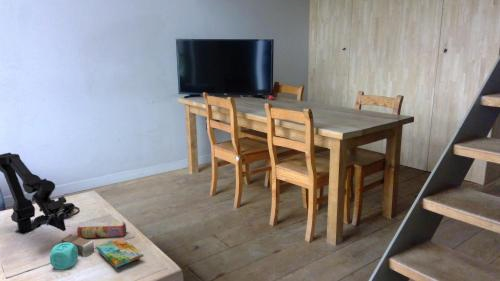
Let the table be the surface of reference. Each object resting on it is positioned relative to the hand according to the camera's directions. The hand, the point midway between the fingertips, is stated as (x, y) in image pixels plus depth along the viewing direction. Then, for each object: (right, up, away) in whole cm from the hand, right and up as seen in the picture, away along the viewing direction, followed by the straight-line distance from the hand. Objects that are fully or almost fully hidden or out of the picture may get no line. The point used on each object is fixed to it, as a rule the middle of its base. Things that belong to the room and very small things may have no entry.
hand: (64, 230), depth 174 cm
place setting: (-17, -1, +34) cm, 38 cm away
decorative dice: (+6, -11, -12) cm, 17 cm away
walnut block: (0, -5, +1) cm, 6 cm away
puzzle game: (+27, -10, -7) cm, 29 cm away
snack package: (+12, -6, +12) cm, 18 cm away
